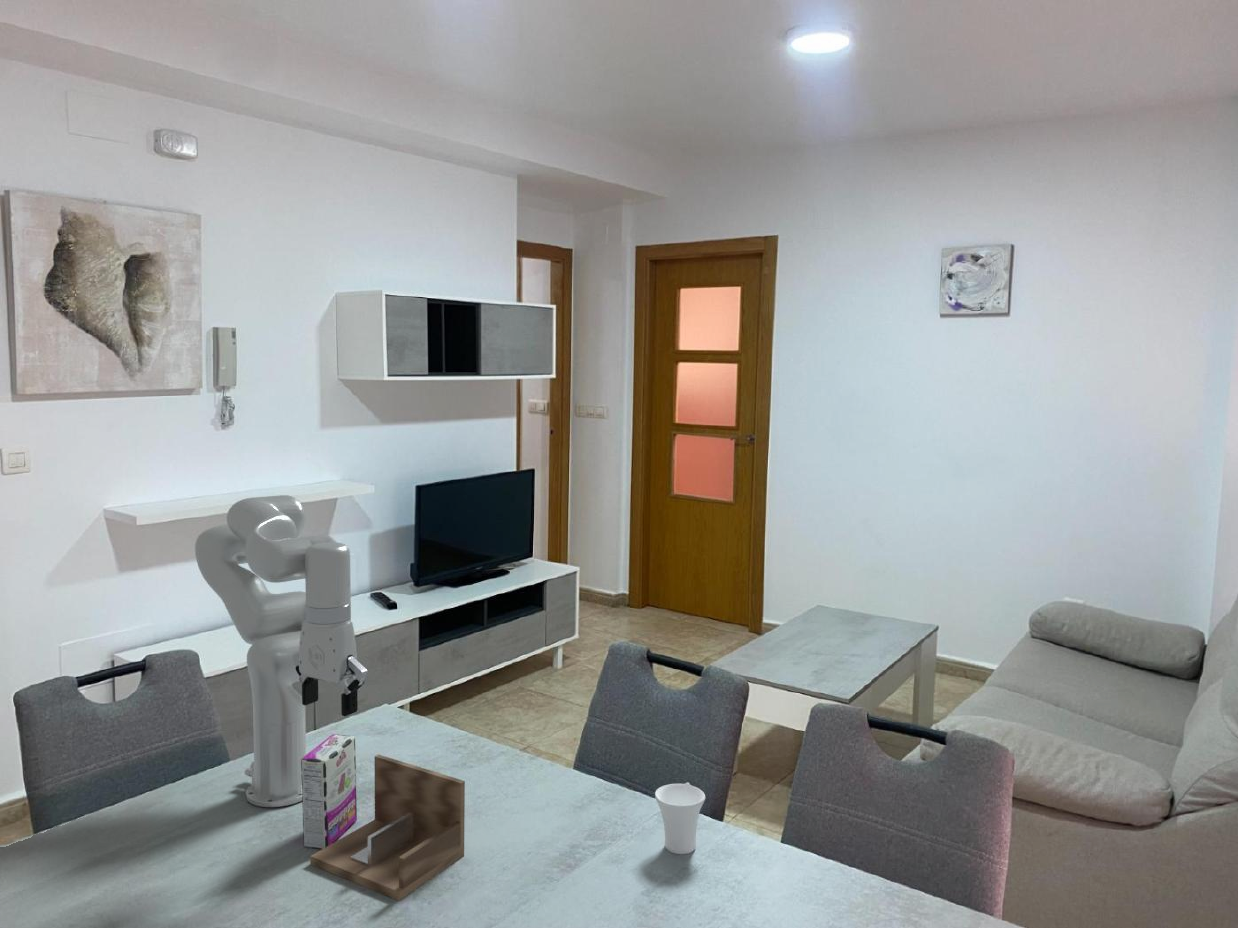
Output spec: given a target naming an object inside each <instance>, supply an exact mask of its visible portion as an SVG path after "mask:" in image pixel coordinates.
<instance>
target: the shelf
mask: <svg viewBox="0 0 1238 928" xmlns="http://www.w3.org/2000/svg"><path fill="white" fill-rule="evenodd" d="M465 781H466V780H463V779H459V778H456V777H453V776H449V775H446V774H443V773H440V772H436V771H434V770H430V769H427V768H423V767H420V766H417V765H414V764H411V763H407V762H404V761H402V760H398V759H394V758H392V757H388V756H385V755H381V754H376V755H375V756H374V819H373V820H371V821H369V822H368V823H366V824H364V825H362V826H361V827H359V828H358V829H355V830H354V831H352V832H350V833H349V834H347V835H345V836H343V837H340V838H339V839H338V840H337V841H336V842H334V843H332V844H331V845H329V846H327V847H325V848H324V849H319V851H317V852H315V853H313V854H311V855H310V859H309V860H310V861H309V863H310V864H309V865H311V866H313V867H316V868H318V869H320V870H323V871H324V872H328V873H331V874H333V875H334V876H337V877H341V878H343V879H345V880H347V881H350V882H352V883H355V884H357V885H360V886H362V887H364V888H366V889H370V890H372V891H374V892H377V893H380V894H382V895H385V896H386V897H388V898H389V897H390V898H391V899H393V900H396V901H401V900H403V899H404V898H406V897H407V896H409V895H410V894H411V893H412V892H414V891H415V890H417V889H418V888H420V887H421V886H423V885H424V884H425V883H427V882H429V881H430V880H432V879H433V878H435V877H436V876H437V875H439V874H440V873H442V872H443V871H444V870H446V869H447V868H449V867H450V866H452V865H453V864H454V863H456V862H458V861H459V860H460V859H461V858H463V857H464V856H465V813H466V812H465V809H466V808H465V806H466V805H465V804H466V803H465V802H466V801H465V797H466V795H465V794H466V791H465V790H466V789H465V788H466V786H465V785H466V784H465V783H466V782H465ZM409 812H410V813H413V841H412V842H410V843H408V844H407V845H405V846H404V847H402V848H400V849H399V850H397V851H396V852H394V853H392V854H391V855H389V856H388V857H386V858H384V859H383V860H381V861H380V862H378V863H376V864H375V865H373V866H372V867H371V866H368V865H365V864H363V863H360V862H358V861H355V860H353V859H350V857H351V856H352V855H354V854H356V853H358V852H359V851H361V850H363V849H364V848H366V847H368V836H370V835H371V834H373V833H375V832H377V831H378V830H380V829H382V828H383V827H385V826H387V825H389V824H390V823H392V822H394V821H395V820H397V819H399V818H400V817H402V816H404V815H406V814H407V813H409Z"/></svg>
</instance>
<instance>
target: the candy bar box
mask: <svg viewBox="0 0 1238 928" xmlns="http://www.w3.org/2000/svg"><path fill="white" fill-rule="evenodd" d="M356 772H357V764H356V736H353V735H345V734H338V733H337V734H336V733H334V734H331V735H330V736H329V737H327V738H326V739H324V740H323V741H322V742H320V743H319V744H318V745H317V746H316V747H315V748H313V749H312V750H310V752H308V753H306V755H305V756H304V757H303V758H302V759H301V774H302V801H301V803H302V806H301V807H302V809H301V810H302V833H303V834H302V839H303V847H304V848H307V849H315V850H317V849H318V850H322V849H324V848H325V847H327V846H329V845H331V844H332V843H334V842H336V841H338V840H339V839H341V838H342V836H343V835H344V834H345V833H346V832H347V831H348V830H349V828H350V827H352V826H353V825H354V824H355V823H356V821H357V820H358V811H357V809H358V808H357V775H356V774H357V773H356Z"/></svg>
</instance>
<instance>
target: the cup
mask: <svg viewBox="0 0 1238 928" xmlns="http://www.w3.org/2000/svg"><path fill="white" fill-rule="evenodd" d="M654 797H655V801H656V803H657V805H658V807H659V810H660V812H661V817H662V818H661V819H662V820H663V827H664V828H663V829H664V846H665V848H666V849H667V850H668V851H669V852H671V853H673V854H675V855H676V854H677V855H688V854H692V853H693V852H694V850H696V847H697V840H696V839H697V826H698V820H699V817H700V812H701V809H702V807H703V805H704V803H705V800H706V795H705V793H704V791H703V790H701V789H700V788H699V787H696V786H694V785H691V784H690V782H686V783H670V784H666V785H662V786H660V787H658V788H657V789H656V790H655V793H654Z"/></svg>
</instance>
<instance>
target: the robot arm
mask: <svg viewBox="0 0 1238 928" xmlns="http://www.w3.org/2000/svg"><path fill="white" fill-rule="evenodd" d="M305 521H306V514H305V510H304V507H303V505H302V503H301V502H300V501H299V500H298V499H297V498H296V497H294V496H293V495H289V494H286V495H285V494H284V495H282V494H281V495H269V496H268V495H267V496H256V497H247V498H242V499H241V500H239V501H238V500H237V501H236V502H235V503H234V504H232V505H231V506H230V508H229V509H228V511H227V513H226V523H227V524H222V525H218V526H213V527H210V528H208V529H205V530H204V531H202V532H201V533H200V534H199V535H198V536H197V538H196V541H195V544H194V552H195V560H196V563H197V567H198V570H199V572H200V573H201V576H202V577H203V579H204V581H205V582H206V584H208V586H209V588H211V589H212V591H214V593H216V595H217V596H218V598H220V599H221V601H222V603H223V604H224V607H225V609H226V610H227V613H228V615H229V617H230V619H231V621H232V623H233V625H234V627H235V628H236V630H237V632H238V634H239V636H240V637H241V639H242V640H243V642H244V643H246V644H249V645H251V646H250V647H249V648H248V651H247V654H246V665H247V671H248V672H247V673H248V677H249V682H250V687H251V697H252V716H253V717H252V719H253V720H252V723H253V724H252V725H253V728H252V729H253V761H252V762H251V764H250V765H249V767H248V768H246V769H245V771H244V775H245V776H247V777H250V778H251V784H250V785H249V786H248V787H247V789H246V791H245V797H246V800H247V802H248V803H250V804H251V805H254V806H257V807H260V808H261V807H262V808H281V807H286V806H291V805H295V804H297V803H300V802H302V774H301V759H302V758H303V757H304V756H305V755H307V747H306V746H307V745H306V743H307V741H306V740H307V739H306V737H307V735H306V734H307V733H306V726H307V725H306V706H308V705H311V704H313V703H316V702H318V701H319V681H322V682H326V683H331V684H336V683H337V684H339V685H340V687H341V690H343V691H342V692H343V693H341V695H340V696H341V697H340V698H341V699H340V700H341V702H340V704H341V705H340V706H341V712H340V713H341V716H342V717H347V716H350V715H352V714H355V713H357V711H358V709H359V707H358V706H359V705H358V702H359V701H358V691H360V690H361V688H362V686H363V685H365V680H366V678H367V675H368V670H367V668H366V667H365V666H364V665H362V664H361V663H360V662H359V661H358V654H357V642H356V634H355V629H354V625H353V622H352V619H351V618H352V605H351V602H352V600H351V599H352V595H351V589H352V588H351V585H352V584H351V551H350V547H349V546H348V545H346V544H345V543H343V542H337V541H336V540H335V539H334V538H333V537H332V536H329V535H326V534H319V535H310V536H309V535H308V536H301V537H299V536H300V534H301V533H302V531H303V529H304V525H305ZM242 564H243V565H245V564H247V565H248V568H250V570H249V569H248V568H245V567H244V566H243V567H242V566H241V565H242ZM296 580H297V581H298V580H305V591H301V590H299V591H289V592H283V593H282V592H281V593H271V592H270V591H269V590H268V588H267V586H266V583H265V582H268V583H273V584H274V583H279V584H280V583H285V582H286V583H287V582H291V581H296ZM264 581H265V582H264ZM347 680H348V681H349V683H348V682H347ZM297 682H299V683H301V694H300V693H299V692H298V691H297V690H296V689H295V688H294V687H293V684H294V683H297Z"/></svg>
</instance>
